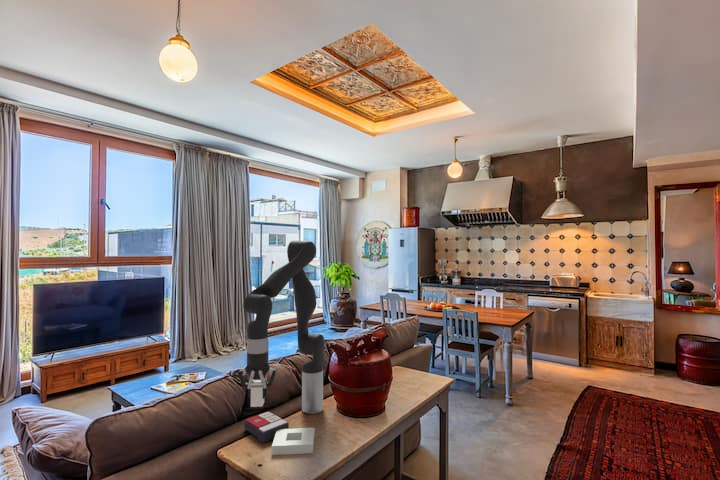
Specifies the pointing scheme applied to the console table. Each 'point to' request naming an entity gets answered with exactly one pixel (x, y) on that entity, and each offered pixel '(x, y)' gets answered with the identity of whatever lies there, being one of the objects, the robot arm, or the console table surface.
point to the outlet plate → (293, 441)
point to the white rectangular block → (257, 394)
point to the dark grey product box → (265, 426)
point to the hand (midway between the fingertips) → (257, 398)
